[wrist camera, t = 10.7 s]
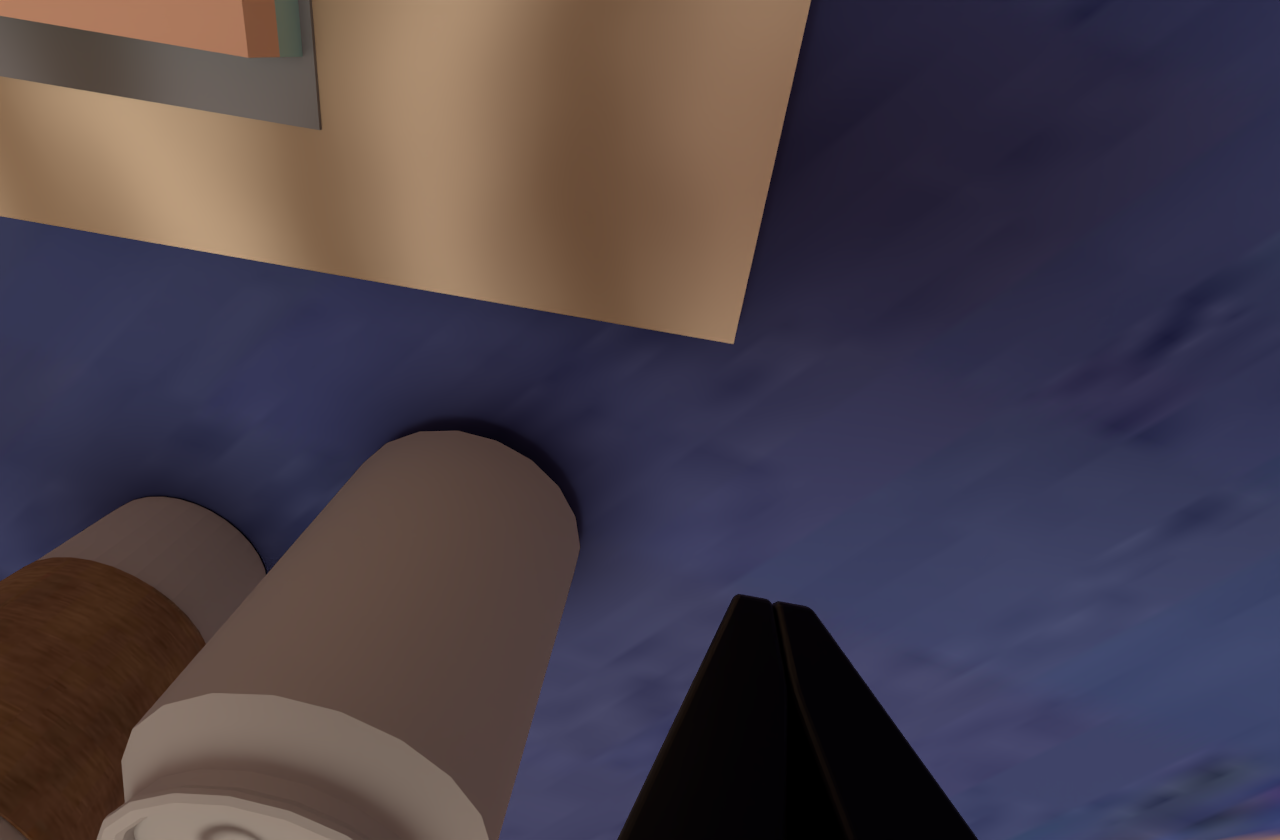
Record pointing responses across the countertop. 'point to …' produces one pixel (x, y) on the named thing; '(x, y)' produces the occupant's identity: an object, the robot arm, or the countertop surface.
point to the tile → (178, 22)
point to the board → (430, 147)
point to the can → (370, 664)
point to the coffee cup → (104, 653)
